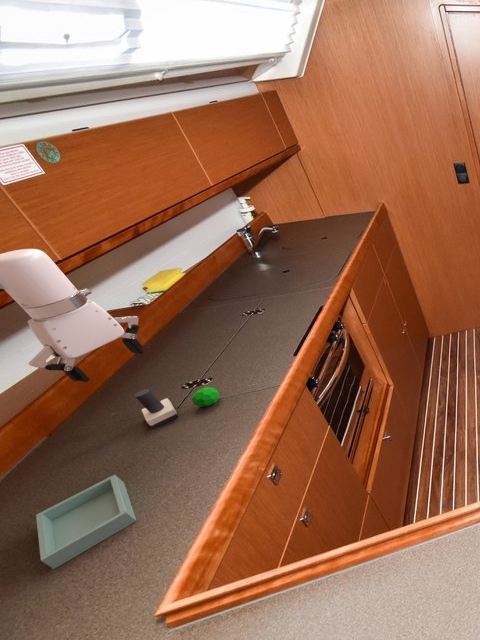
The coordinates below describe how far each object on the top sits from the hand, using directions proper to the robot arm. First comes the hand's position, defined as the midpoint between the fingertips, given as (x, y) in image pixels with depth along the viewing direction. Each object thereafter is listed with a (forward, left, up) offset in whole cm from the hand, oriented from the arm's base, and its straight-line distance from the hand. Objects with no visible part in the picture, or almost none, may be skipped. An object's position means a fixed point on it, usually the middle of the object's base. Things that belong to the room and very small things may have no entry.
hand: (112, 365), depth 95 cm
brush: (-1, +1, -19) cm, 19 cm away
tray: (+14, -25, -19) cm, 34 cm away
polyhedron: (+7, +6, -19) cm, 21 cm away
